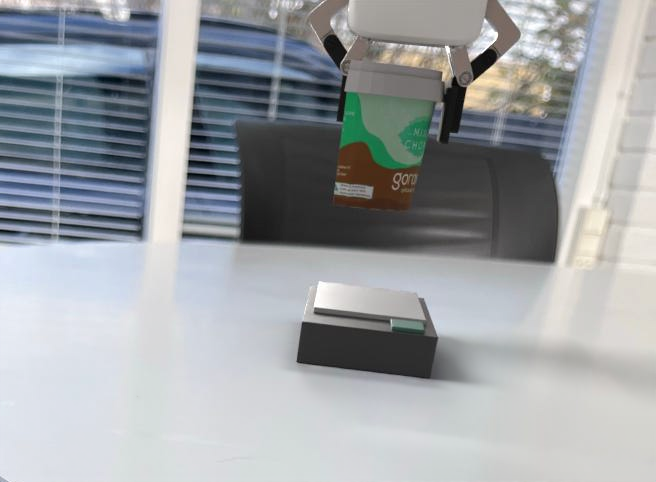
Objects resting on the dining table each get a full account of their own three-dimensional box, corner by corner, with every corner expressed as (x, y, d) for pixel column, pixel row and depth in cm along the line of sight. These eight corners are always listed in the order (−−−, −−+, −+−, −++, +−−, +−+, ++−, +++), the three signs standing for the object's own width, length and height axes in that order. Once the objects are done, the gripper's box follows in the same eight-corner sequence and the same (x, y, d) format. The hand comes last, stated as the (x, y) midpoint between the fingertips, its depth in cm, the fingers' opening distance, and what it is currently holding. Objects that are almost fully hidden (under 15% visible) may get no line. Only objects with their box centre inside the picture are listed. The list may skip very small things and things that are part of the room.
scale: (417, 332, 94) (424, 293, 93) (430, 378, 79) (439, 331, 77) (306, 319, 95) (311, 280, 94) (296, 362, 80) (302, 315, 78)
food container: (404, 216, 80) (431, 67, 75) (326, 205, 82) (348, 59, 77) (438, 208, 90) (464, 76, 86) (368, 198, 92) (390, 69, 88)
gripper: (554, -117, 78) (499, 148, 86) (320, -135, 80) (288, 127, 88) (573, -138, 72) (511, 151, 80) (317, -157, 73) (283, 128, 81)
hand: (395, 136), depth 84 cm, fingers closed on food container, 6 cm apart
